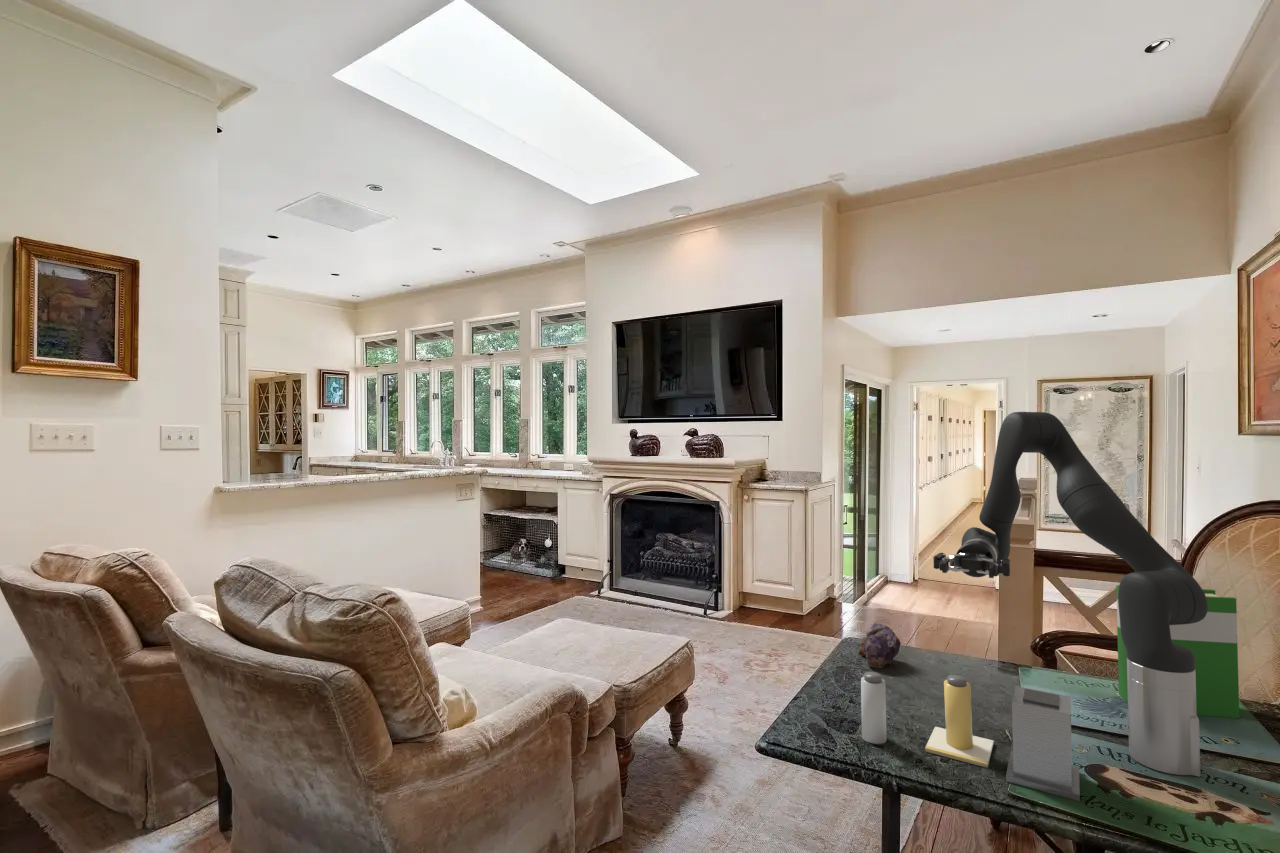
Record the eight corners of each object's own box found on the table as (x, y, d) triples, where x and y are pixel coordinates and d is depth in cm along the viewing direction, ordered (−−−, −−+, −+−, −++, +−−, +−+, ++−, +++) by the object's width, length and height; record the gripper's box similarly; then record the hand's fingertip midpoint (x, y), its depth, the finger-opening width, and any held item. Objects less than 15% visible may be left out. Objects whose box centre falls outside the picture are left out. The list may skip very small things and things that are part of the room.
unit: (1079, 772, 105) (1077, 693, 105) (1079, 801, 97) (1077, 715, 97) (1010, 755, 111) (1009, 680, 111) (1006, 781, 103) (1004, 700, 103)
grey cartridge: (889, 736, 118) (887, 673, 118) (883, 746, 115) (882, 681, 115) (865, 730, 121) (864, 669, 121) (859, 739, 117) (857, 676, 117)
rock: (860, 672, 153) (904, 675, 150) (859, 640, 152) (903, 642, 149) (857, 649, 164) (897, 651, 161) (856, 619, 163) (896, 620, 160)
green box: (1215, 702, 131) (1212, 589, 131) (1239, 718, 124) (1236, 598, 124) (1118, 694, 135) (1116, 585, 136) (1136, 709, 128) (1133, 593, 128)
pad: (993, 743, 115) (993, 740, 115) (987, 767, 107) (987, 764, 107) (935, 729, 121) (935, 726, 121) (925, 751, 112) (925, 747, 112)
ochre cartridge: (974, 742, 114) (971, 676, 115) (971, 752, 111) (968, 684, 111) (948, 735, 117) (946, 672, 117) (944, 745, 113) (941, 679, 114)
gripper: (942, 537, 143) (928, 548, 130) (1013, 543, 135) (1007, 555, 122) (942, 569, 143) (929, 584, 130) (1014, 577, 135) (1007, 593, 121)
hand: (967, 570), depth 126 cm, fingers open, 8 cm apart
